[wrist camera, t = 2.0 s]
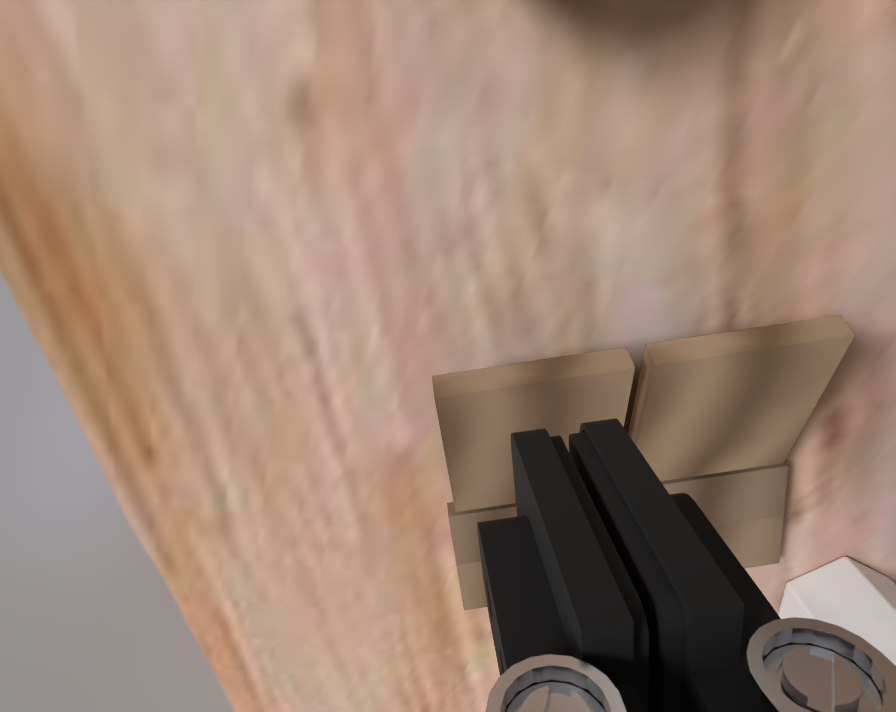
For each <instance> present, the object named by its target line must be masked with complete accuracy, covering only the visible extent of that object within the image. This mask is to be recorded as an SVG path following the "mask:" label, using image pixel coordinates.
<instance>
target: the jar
mask: <svg viewBox="0 0 896 712" xmlns="http://www.w3.org/2000/svg"><path fill="white" fill-rule="evenodd" d="M778 615H779V617H780V618H781V619H785V618H792V617H797V618H808V619H817V620H820V621H824V622H827V623H831V624H834V625H837V626H840V627H842V628H844V629H846V630H848V631H850V632H852V633H854V634H856V635H858V636H860V637H862V638H863V639H864V640H866V641H867V642H868V643H870V644H871V645H872V646H874V647H875V648H876V649H878V650H879V651H880V652H881V653H883V654H884V655H885V656H886V657H887V658H888V659H889V660H890V661H891V662H892V663H893V664H894V665H895V666H896V584H895V583H894V582H893V581H892V580H891V579H890V578H888V577H886V576H884V575H882V574H880V573H878V572H876V571H874V570H872V569H870V568H868V567H866V566H864V565H862V564H860V563H858V562H856V561H854V560H852V559H850V558H848V557H845V556H844V557H841V558H839V559H837V560H835V561H832V562H830V563H828V564H826V565H824V566H822V567H819V568H817V569H815V570H813V571H811V572H808V573H806V574H804V575H802V576H800V577H797V578H795V579H793V580H791V581H789V582H787V583H786V586H785V590H784V594H783V598H782V602H781V605H780V609H779V613H778Z"/></svg>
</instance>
